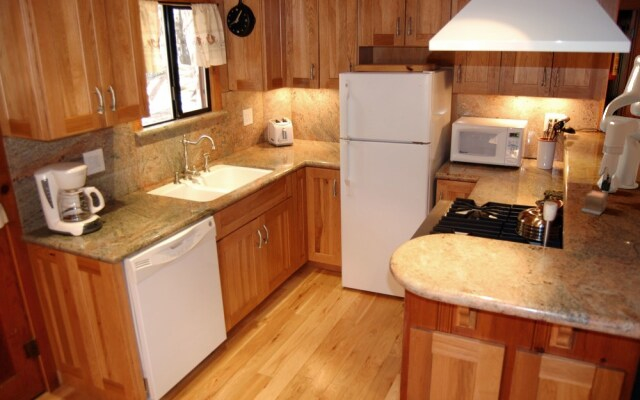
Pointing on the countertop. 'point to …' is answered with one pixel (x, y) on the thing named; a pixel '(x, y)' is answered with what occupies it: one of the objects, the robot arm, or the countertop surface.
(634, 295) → the countertop surface
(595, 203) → the block
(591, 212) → the mat
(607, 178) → the robot arm
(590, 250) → the countertop surface
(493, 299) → the countertop surface
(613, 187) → the die
